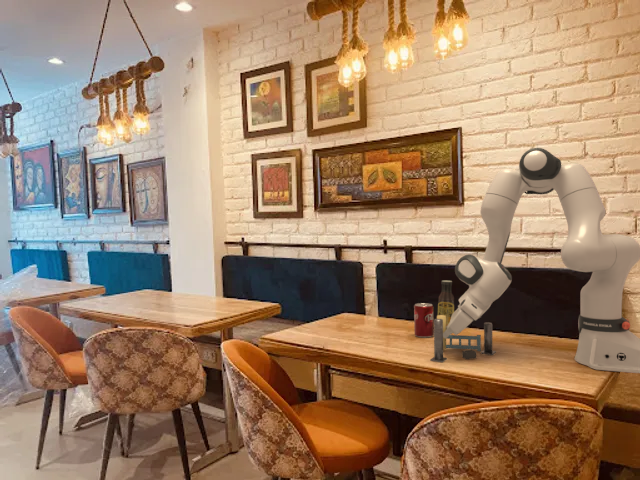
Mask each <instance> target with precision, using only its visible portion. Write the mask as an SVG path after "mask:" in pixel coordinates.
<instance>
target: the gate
mask: <svg viewBox="0 0 640 480" xmlns="http://www.w3.org/2000/svg"><path fill="white" fill-rule="evenodd" d="M436 319H443V333H444V332H445V331H446V316H445V315H438V314H437V315H436ZM447 340H449V344H447ZM453 340H458V344H453ZM462 340H467V345H465V344H462ZM471 340H473V341H475V340H476V345H472V344H471V342H472V341H471ZM481 345H482V336H481V334H476V335H459V334H457V335H455V334H451V335H449V336H448V337H447V338H446V339H445V338H444V337H443V351H444V350H445V351H446V350H447V349H454V350H455V349H457V350H459V349H460V350H475V351H476V352H482V346H481Z"/></svg>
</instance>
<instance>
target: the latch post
mask: <svg viewBox="0 0 640 480" xmlns="http://www.w3.org/2000/svg"><path fill="white" fill-rule="evenodd" d="M433 345H434V346H433V348H434V349H433V351H434V352H433V354H434V355H433V357H432V358H430V362H436V363H444V362H445V361H447V360H448V357H444V350H443V319H437V318H434V335H433Z"/></svg>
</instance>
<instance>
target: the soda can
mask: <svg viewBox="0 0 640 480" xmlns="http://www.w3.org/2000/svg"><path fill="white" fill-rule="evenodd" d="M434 308H435V307H434V305H433V304H432V303H425V302H423V303H422V302H420V303H419V302H418V303H415V304H414V305H413V309H414V310H413V318H414V320H413V321H414V324H413V325H414V336H415V337H416V338H423V339H427V338H428V339H429V338H432V337H434V319H435V318H434V315H435V314H434Z"/></svg>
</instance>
